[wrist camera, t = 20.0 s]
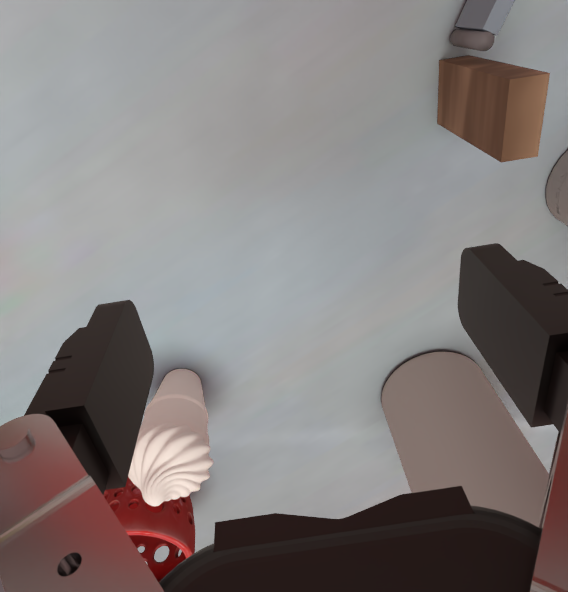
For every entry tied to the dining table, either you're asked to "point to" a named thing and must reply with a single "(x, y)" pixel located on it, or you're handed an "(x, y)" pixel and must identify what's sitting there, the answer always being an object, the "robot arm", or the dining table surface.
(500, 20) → the gate
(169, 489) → the soft serve ice cream cone
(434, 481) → the cylinder vase
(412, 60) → the dining table surface
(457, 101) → the wooden blocks
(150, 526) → the plant pot
